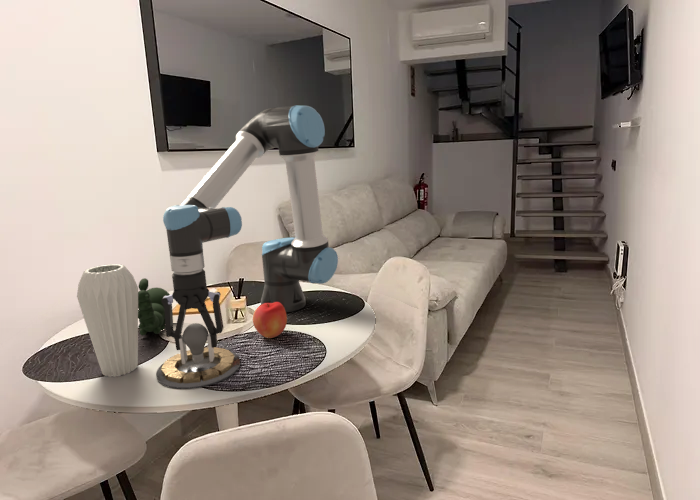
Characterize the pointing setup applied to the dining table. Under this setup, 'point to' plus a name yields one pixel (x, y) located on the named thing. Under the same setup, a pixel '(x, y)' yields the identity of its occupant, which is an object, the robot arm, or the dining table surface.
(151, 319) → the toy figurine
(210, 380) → the socket
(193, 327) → the light bulb
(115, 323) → the vase
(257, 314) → the apple
